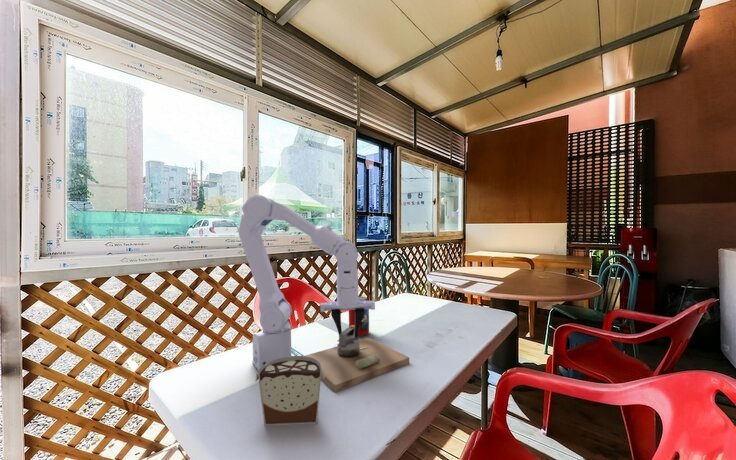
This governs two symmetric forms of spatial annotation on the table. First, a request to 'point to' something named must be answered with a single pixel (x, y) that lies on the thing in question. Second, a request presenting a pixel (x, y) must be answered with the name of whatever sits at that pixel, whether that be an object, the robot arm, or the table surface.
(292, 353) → the adjustable wrench
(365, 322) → the beverage can
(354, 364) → the base
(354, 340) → the wing knob
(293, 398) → the food container
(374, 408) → the table surface
